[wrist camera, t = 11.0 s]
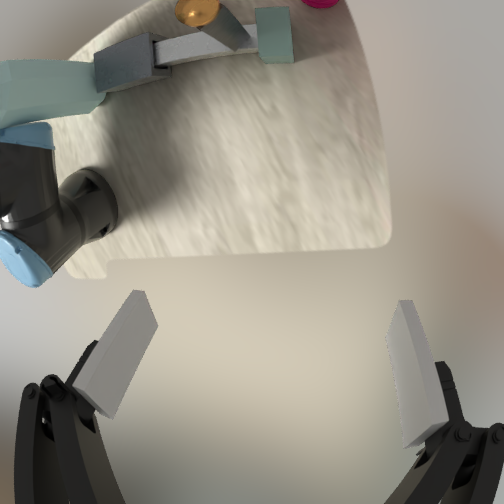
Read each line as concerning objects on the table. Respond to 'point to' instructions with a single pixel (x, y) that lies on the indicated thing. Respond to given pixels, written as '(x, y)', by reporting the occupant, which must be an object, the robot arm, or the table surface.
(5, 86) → the water bottle
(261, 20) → the socket block
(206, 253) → the table surface
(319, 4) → the pepper mill
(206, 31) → the gray hammer
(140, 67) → the charcoal rectangular brick
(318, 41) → the table surface
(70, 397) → the robot arm
